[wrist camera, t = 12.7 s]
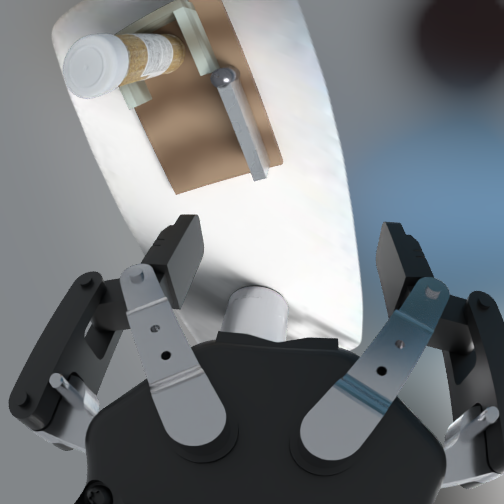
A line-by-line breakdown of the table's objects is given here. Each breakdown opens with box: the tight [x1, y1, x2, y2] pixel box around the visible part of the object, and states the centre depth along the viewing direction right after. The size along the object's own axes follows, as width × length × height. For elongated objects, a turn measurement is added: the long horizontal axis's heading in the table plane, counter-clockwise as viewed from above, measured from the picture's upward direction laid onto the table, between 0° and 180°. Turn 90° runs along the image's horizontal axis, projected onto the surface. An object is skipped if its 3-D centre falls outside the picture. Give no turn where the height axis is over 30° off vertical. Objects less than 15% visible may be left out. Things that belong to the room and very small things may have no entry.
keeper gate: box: [210, 66, 270, 181], centre depth 26 cm, size 11×2×4 cm, turn 20°
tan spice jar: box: [63, 33, 185, 99], centre depth 19 cm, size 5×5×14 cm
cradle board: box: [115, 0, 283, 195], centre depth 26 cm, size 20×13×4 cm, turn 20°
